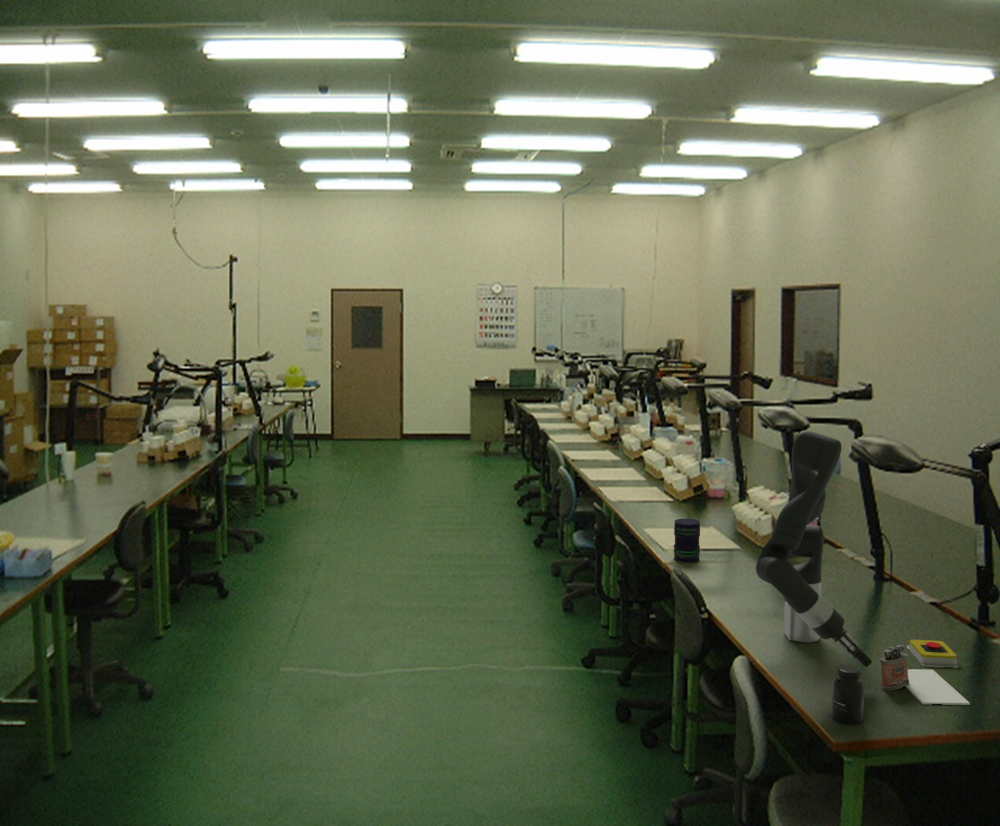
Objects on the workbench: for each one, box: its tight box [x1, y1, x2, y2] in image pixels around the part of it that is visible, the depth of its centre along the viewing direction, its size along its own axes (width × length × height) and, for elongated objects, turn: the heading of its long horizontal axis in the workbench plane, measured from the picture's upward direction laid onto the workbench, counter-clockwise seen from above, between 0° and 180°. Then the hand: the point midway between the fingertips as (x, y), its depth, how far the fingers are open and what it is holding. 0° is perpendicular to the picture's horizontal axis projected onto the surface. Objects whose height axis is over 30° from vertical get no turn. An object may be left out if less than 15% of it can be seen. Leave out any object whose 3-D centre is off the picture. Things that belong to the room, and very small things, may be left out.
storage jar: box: [673, 518, 701, 564], centre depth 335 cm, size 10×10×15 cm
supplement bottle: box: [830, 664, 865, 725], centre depth 201 cm, size 7×7×12 cm
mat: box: [904, 668, 971, 706], centre depth 218 cm, size 11×20×1 cm, turn 177°
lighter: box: [879, 644, 909, 691], centre depth 218 cm, size 8×3×10 cm, turn 114°
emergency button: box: [905, 639, 960, 669], centre depth 237 cm, size 9×4×15 cm
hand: (868, 663), depth 218 cm, fingers closed
